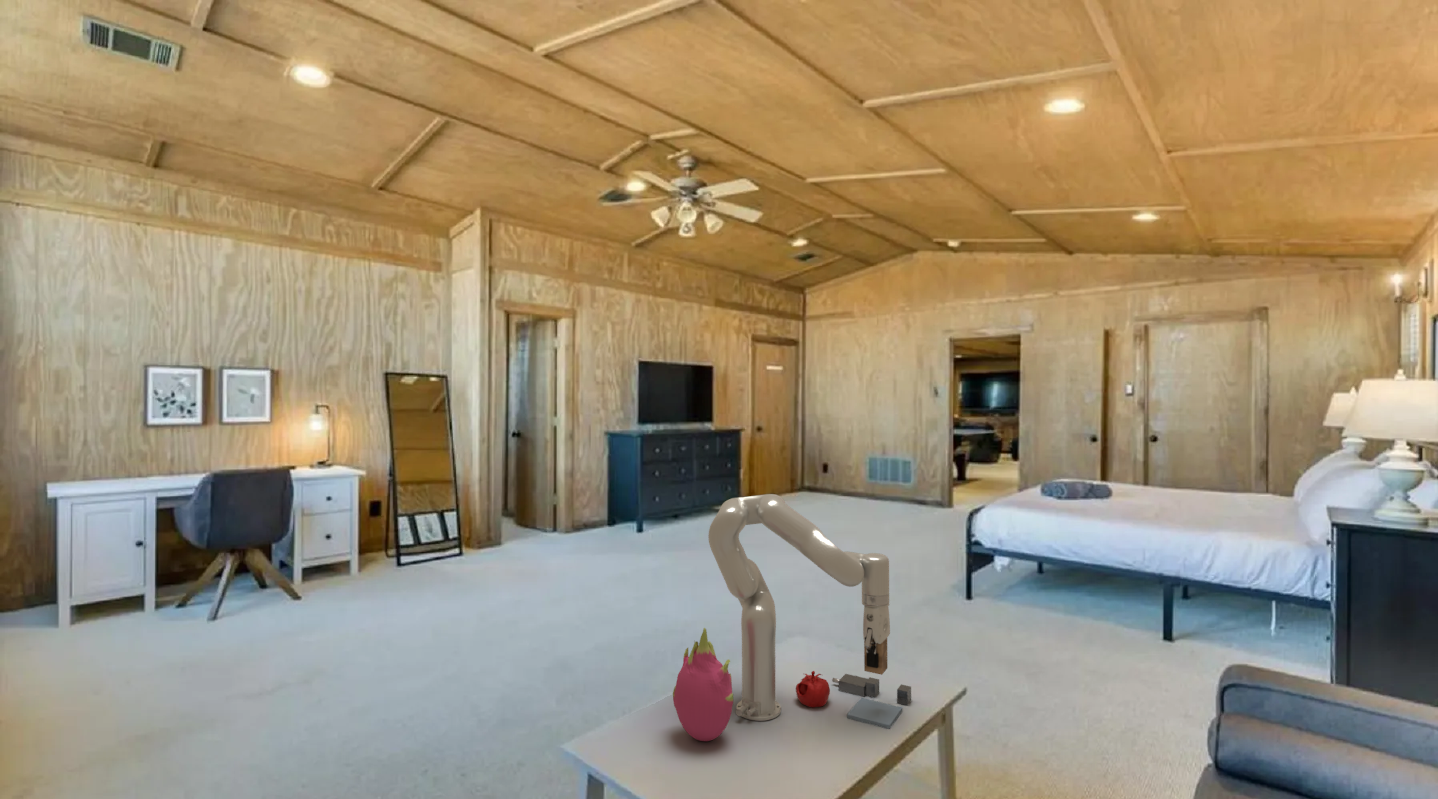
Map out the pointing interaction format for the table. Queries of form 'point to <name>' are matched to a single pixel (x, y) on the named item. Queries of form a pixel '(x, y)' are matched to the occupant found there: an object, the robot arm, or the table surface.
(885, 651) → the walnut peg
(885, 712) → the pad
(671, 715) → the table surface
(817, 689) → the pomegranate
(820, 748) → the table surface
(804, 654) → the table surface
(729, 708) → the pink dragon fruit
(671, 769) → the table surface
